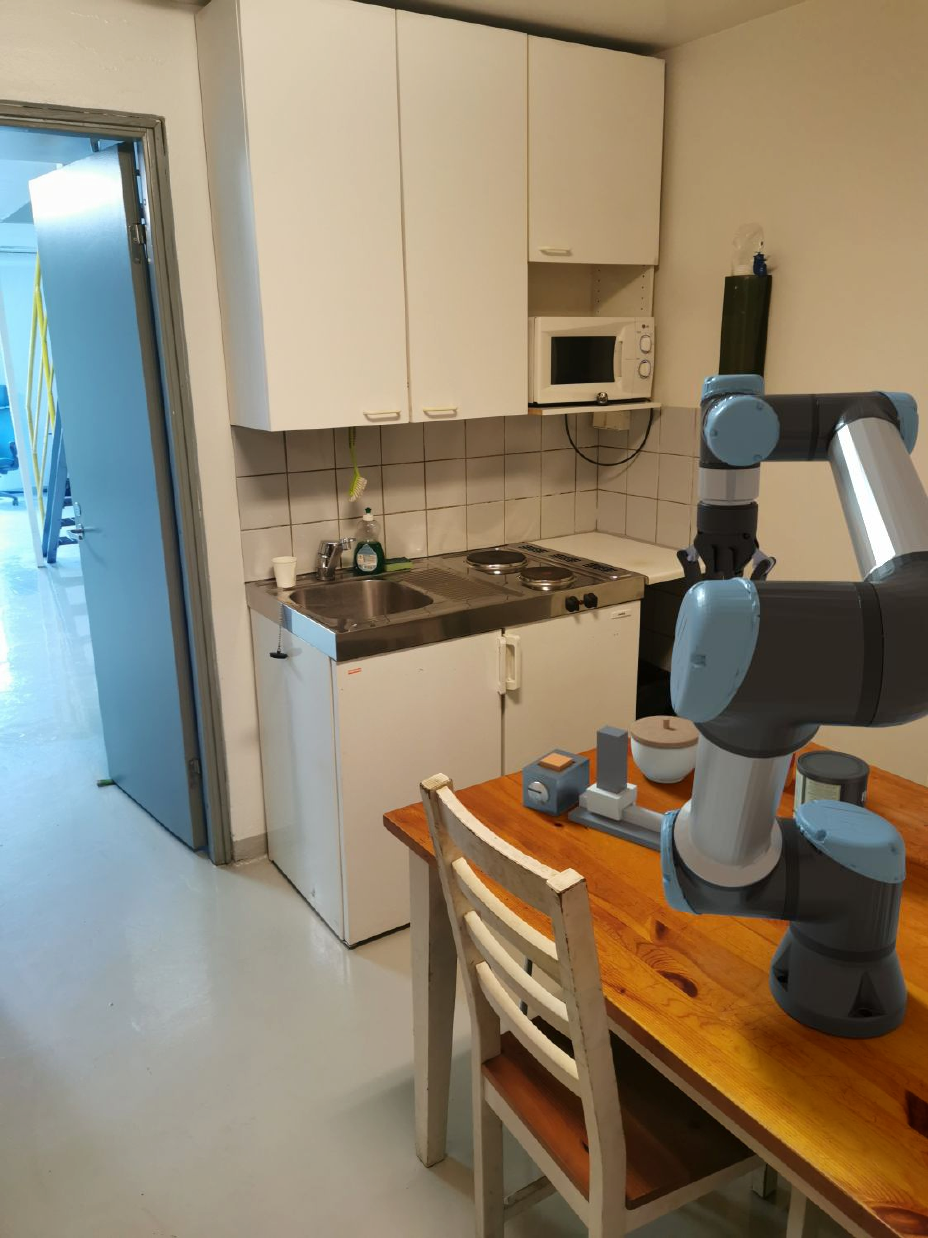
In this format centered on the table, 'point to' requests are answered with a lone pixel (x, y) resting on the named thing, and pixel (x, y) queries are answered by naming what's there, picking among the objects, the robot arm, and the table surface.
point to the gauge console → (555, 784)
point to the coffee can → (830, 778)
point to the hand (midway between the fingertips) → (719, 675)
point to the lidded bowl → (664, 747)
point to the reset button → (556, 762)
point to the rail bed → (623, 823)
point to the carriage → (611, 775)
